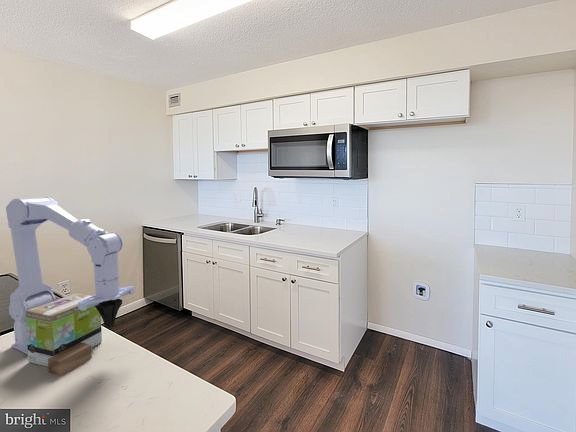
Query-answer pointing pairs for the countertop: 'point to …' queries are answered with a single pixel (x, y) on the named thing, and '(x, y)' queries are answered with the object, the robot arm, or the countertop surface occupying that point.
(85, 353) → the walnut bar
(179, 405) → the countertop surface
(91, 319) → the tea box
